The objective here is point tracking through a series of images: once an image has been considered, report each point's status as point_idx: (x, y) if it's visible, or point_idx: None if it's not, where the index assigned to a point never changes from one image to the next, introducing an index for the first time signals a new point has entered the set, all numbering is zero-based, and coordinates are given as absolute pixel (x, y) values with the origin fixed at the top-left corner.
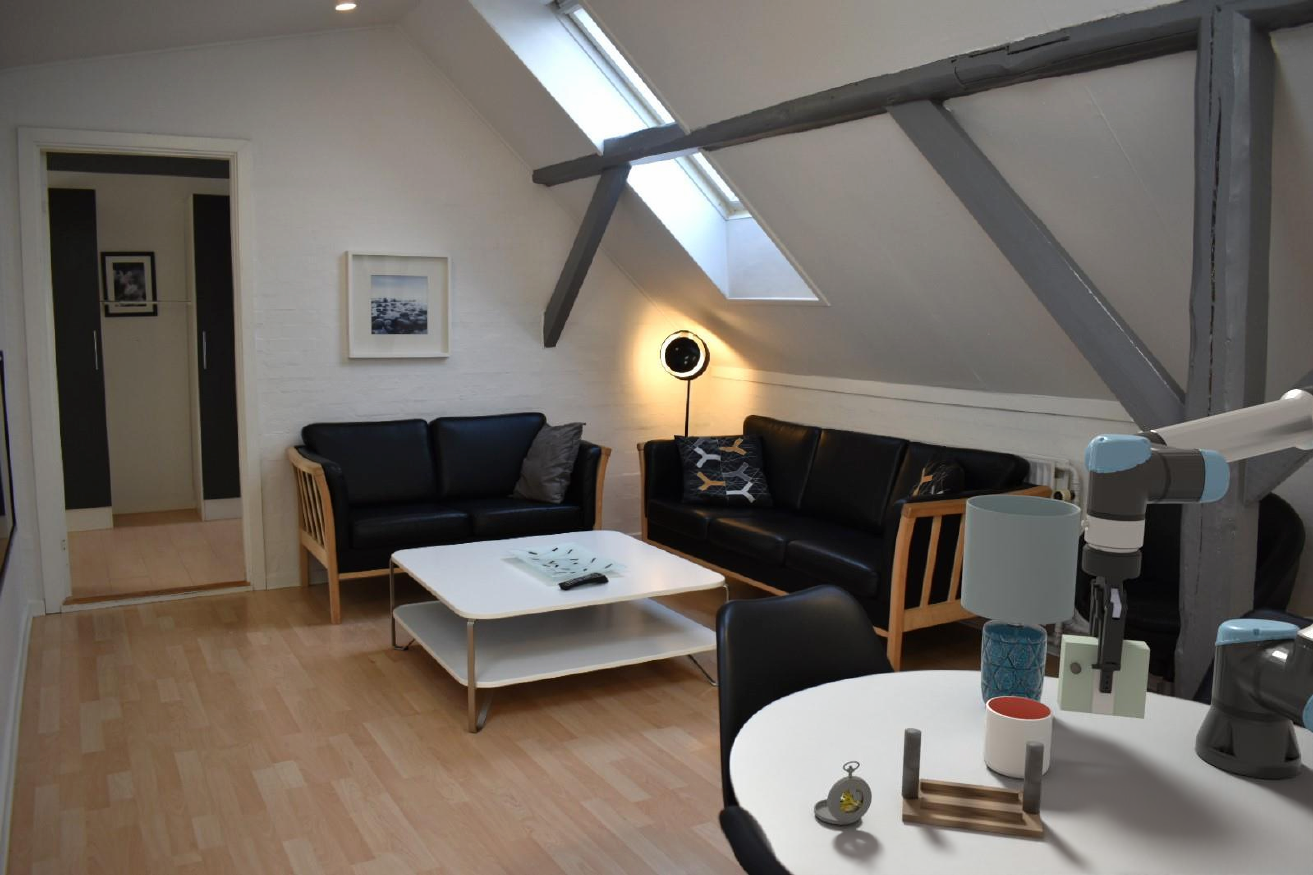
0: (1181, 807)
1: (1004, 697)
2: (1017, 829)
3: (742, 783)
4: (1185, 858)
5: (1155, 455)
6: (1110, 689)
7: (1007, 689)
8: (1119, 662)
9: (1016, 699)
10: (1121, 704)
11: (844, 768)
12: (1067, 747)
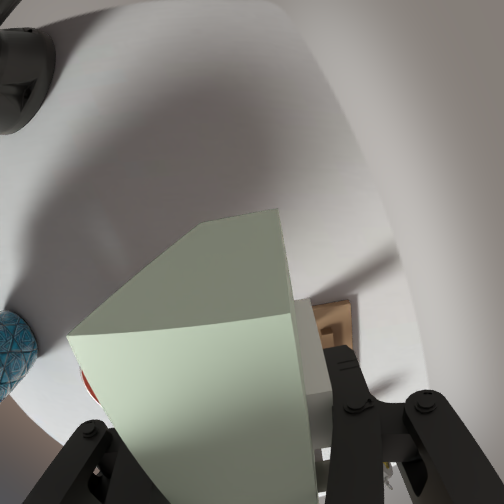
0: (169, 125)
1: (97, 400)
2: (351, 329)
3: (318, 496)
4: (330, 124)
5: None
6: (355, 356)
7: (22, 358)
8: (458, 419)
9: (88, 385)
10: (291, 288)
11: (390, 486)
12: (66, 277)
